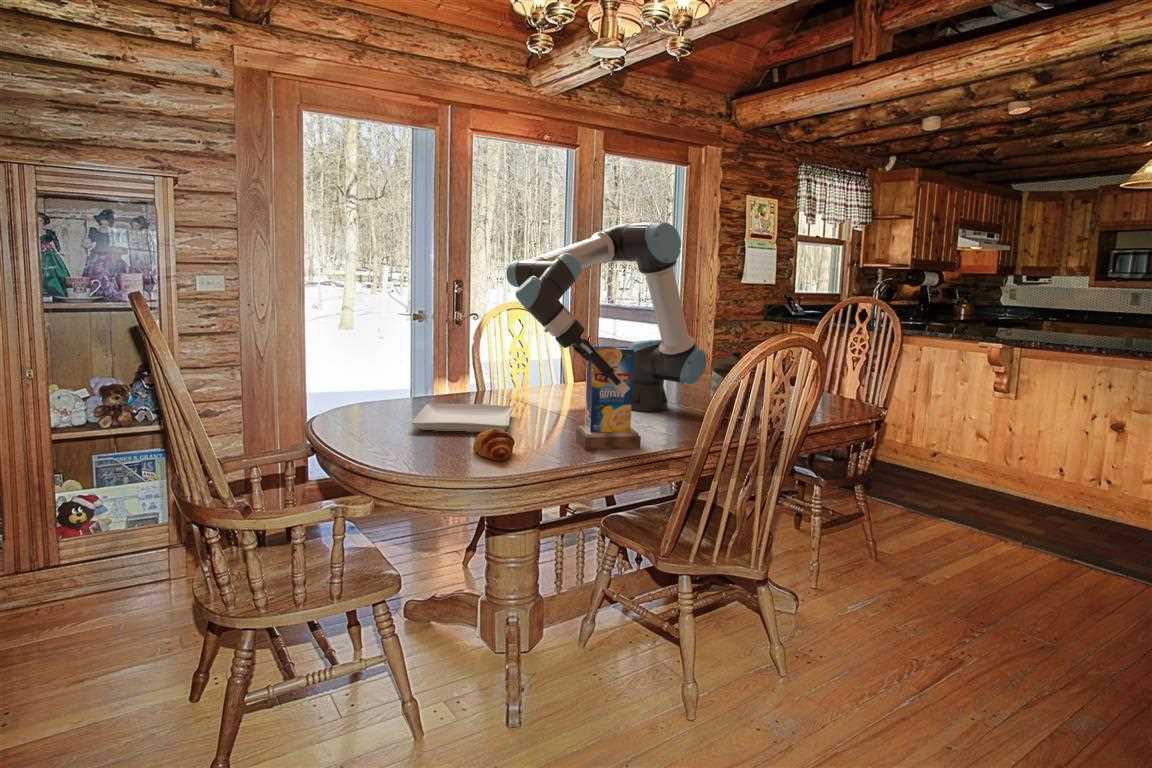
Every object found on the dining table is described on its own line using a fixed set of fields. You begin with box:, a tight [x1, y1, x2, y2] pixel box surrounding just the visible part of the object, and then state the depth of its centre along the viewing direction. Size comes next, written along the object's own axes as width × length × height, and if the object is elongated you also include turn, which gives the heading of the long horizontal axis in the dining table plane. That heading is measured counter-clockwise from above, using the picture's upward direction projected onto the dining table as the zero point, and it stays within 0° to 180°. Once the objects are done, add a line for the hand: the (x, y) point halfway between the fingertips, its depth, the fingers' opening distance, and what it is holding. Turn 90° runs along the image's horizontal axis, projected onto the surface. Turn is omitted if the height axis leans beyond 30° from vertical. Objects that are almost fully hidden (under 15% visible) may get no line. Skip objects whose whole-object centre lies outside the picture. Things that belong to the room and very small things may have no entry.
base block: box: [575, 425, 642, 451], centre depth 193 cm, size 15×11×4 cm
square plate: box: [411, 403, 514, 433], centre depth 212 cm, size 27×27×4 cm
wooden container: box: [709, 348, 757, 418], centre depth 233 cm, size 15×15×22 cm
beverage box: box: [584, 345, 634, 432], centre depth 191 cm, size 7×11×22 cm, turn 103°
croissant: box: [473, 429, 516, 462], centre depth 180 cm, size 21×10×8 cm, turn 20°
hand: (622, 389), depth 192 cm, fingers open, 6 cm apart
